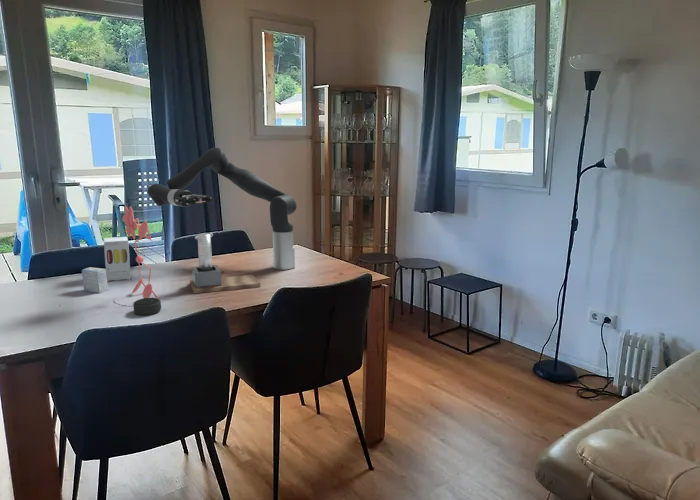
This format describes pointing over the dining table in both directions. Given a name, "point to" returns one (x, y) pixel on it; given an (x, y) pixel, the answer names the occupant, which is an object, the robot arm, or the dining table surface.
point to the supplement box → (117, 258)
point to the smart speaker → (147, 306)
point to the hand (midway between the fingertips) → (203, 200)
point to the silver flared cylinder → (204, 251)
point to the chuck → (206, 277)
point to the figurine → (130, 229)
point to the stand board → (229, 284)
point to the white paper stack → (94, 279)
